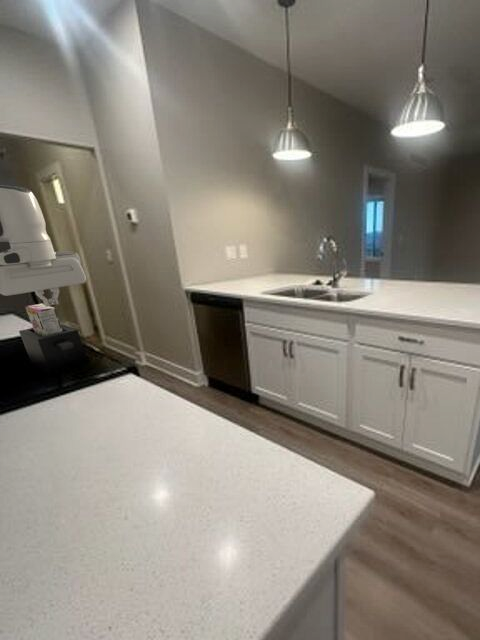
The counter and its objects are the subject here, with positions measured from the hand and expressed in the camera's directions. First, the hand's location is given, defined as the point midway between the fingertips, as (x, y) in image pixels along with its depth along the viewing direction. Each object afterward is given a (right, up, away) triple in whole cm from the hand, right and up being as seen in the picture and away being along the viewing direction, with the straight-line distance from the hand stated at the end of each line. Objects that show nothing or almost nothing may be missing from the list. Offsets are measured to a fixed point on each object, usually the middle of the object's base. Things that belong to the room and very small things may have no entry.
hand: (52, 305), depth 95 cm
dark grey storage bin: (-8, -16, +14) cm, 23 cm away
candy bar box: (-8, -15, +14) cm, 22 cm away
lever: (0, -11, +5) cm, 13 cm away
